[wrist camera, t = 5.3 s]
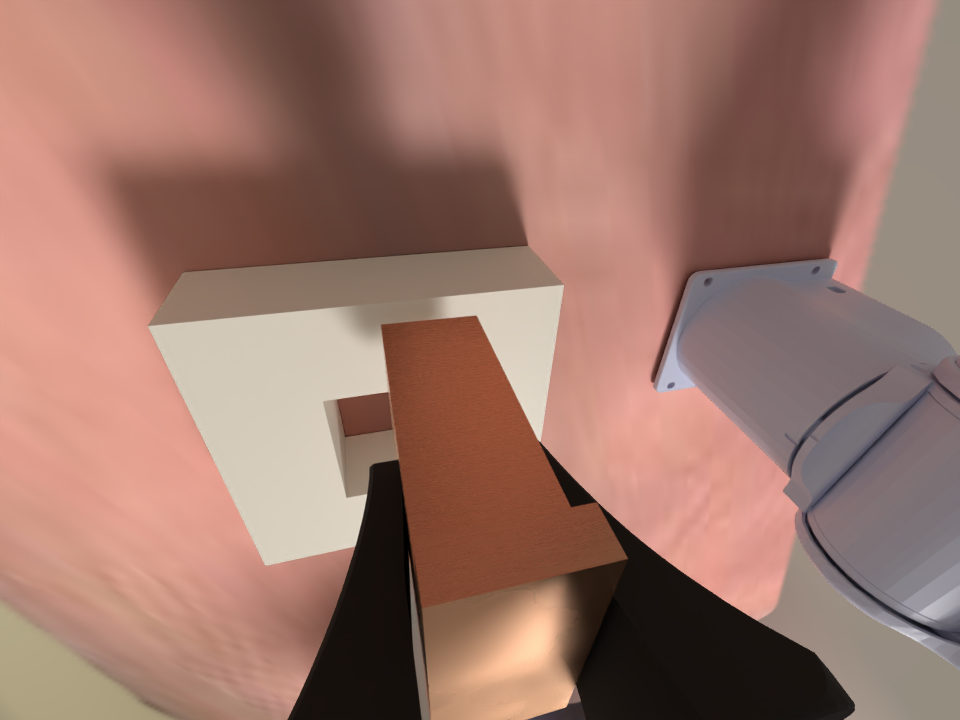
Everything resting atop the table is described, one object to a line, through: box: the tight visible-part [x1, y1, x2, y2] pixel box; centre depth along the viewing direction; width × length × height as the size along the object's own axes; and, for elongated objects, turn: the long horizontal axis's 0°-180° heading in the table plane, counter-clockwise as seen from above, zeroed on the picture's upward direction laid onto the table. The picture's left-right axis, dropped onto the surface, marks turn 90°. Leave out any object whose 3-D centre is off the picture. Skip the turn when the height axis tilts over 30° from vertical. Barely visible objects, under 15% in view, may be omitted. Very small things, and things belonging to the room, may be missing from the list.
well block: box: [148, 246, 564, 566], centre depth 21 cm, size 14×14×4 cm
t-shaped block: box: [381, 315, 628, 720], centre depth 11 cm, size 3×6×9 cm, turn 178°
